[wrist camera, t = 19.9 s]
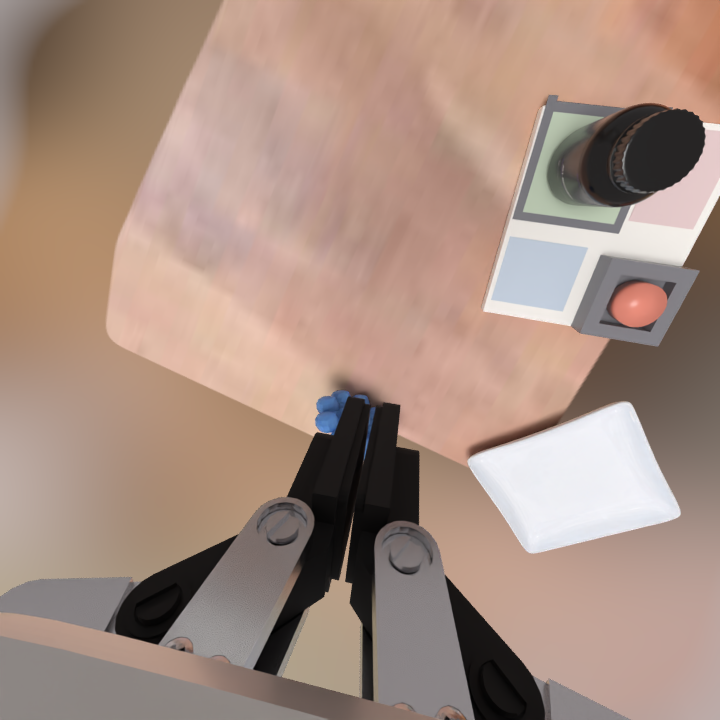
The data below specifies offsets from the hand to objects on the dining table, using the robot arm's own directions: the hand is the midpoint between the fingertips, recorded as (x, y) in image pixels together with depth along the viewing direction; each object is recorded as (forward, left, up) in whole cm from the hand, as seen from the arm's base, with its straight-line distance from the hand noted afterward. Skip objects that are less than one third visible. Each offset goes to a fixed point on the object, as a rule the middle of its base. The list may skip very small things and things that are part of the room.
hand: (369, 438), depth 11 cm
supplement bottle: (-12, +15, -32) cm, 37 cm away
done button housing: (-1, +24, -32) cm, 40 cm away
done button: (-1, +24, -30) cm, 39 cm away
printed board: (-7, +19, -33) cm, 39 cm away
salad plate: (+25, +28, -34) cm, 51 cm away
